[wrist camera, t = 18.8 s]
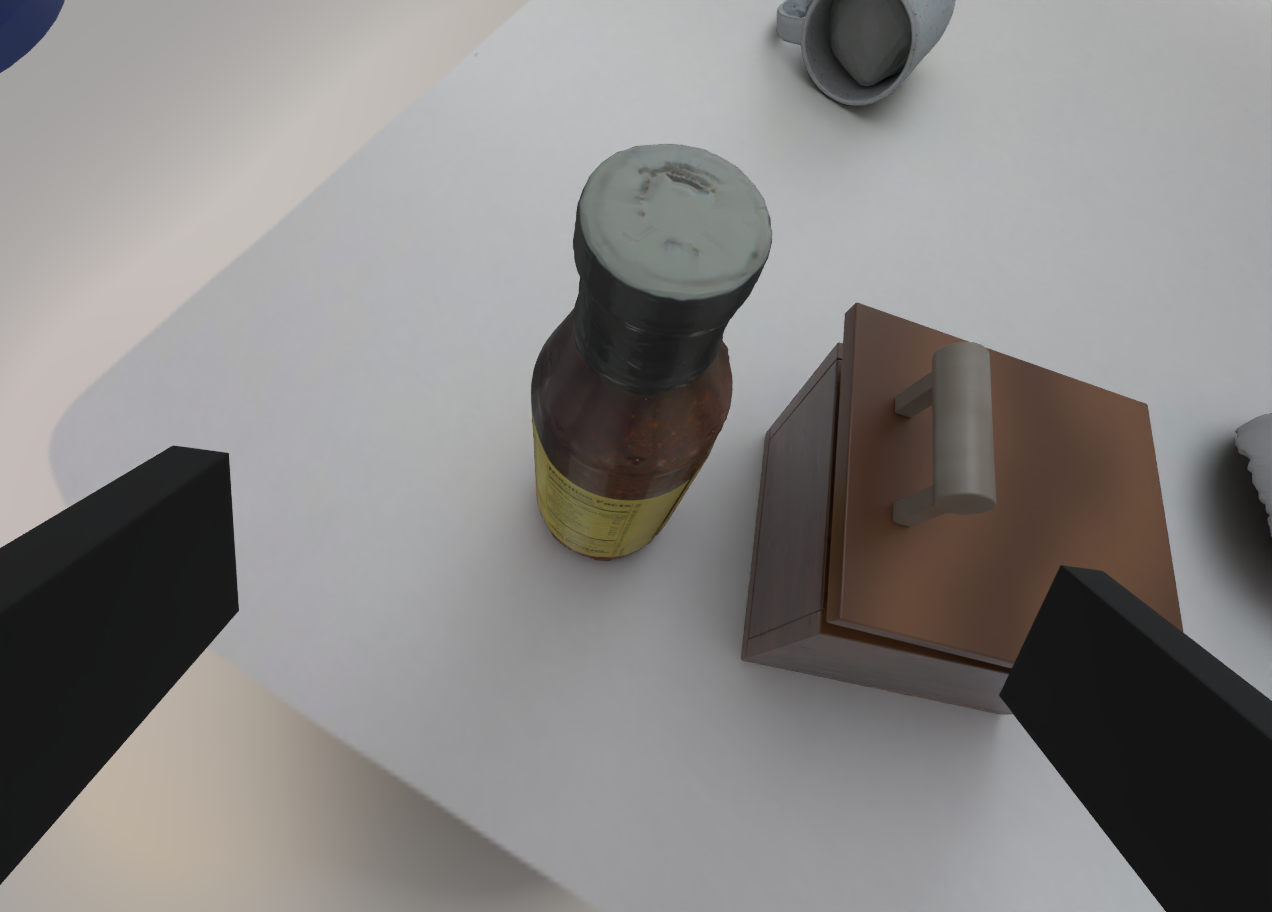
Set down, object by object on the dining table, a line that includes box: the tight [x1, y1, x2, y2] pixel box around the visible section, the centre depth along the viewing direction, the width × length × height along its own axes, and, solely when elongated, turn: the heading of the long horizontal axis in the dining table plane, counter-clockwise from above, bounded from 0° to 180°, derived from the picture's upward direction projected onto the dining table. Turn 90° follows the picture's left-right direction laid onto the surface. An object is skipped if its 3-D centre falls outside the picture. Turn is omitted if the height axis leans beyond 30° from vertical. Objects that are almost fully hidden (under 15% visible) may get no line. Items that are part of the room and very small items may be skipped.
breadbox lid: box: [826, 303, 1183, 668], centre depth 22 cm, size 13×12×4 cm
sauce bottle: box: [531, 144, 772, 561], centre depth 22 cm, size 7×6×20 cm
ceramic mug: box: [777, 0, 955, 106], centre depth 43 cm, size 11×8×8 cm
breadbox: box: [741, 343, 1013, 714], centre depth 28 cm, size 13×12×9 cm
